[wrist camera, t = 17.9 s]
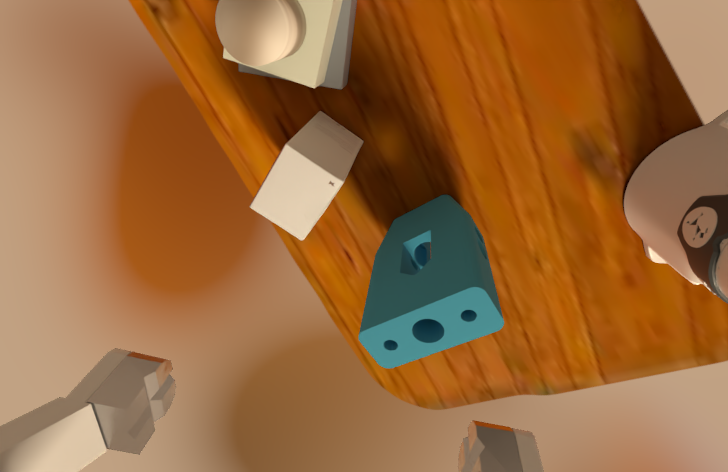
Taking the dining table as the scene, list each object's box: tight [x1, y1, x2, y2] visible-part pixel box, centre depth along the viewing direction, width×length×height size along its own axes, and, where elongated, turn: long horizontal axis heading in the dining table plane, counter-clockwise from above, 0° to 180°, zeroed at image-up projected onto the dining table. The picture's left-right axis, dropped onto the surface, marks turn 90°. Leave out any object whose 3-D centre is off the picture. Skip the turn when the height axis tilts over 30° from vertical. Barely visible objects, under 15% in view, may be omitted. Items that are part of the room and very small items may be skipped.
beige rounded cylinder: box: [215, 0, 307, 66], centre depth 33 cm, size 6×6×6 cm
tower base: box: [238, 0, 357, 90], centre depth 40 cm, size 11×11×4 cm
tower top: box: [223, 0, 343, 89], centre depth 37 cm, size 9×9×4 cm
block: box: [359, 195, 504, 368], centre depth 43 cm, size 12×5×20 cm, turn 124°
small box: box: [250, 111, 364, 241], centre depth 43 cm, size 8×6×13 cm
